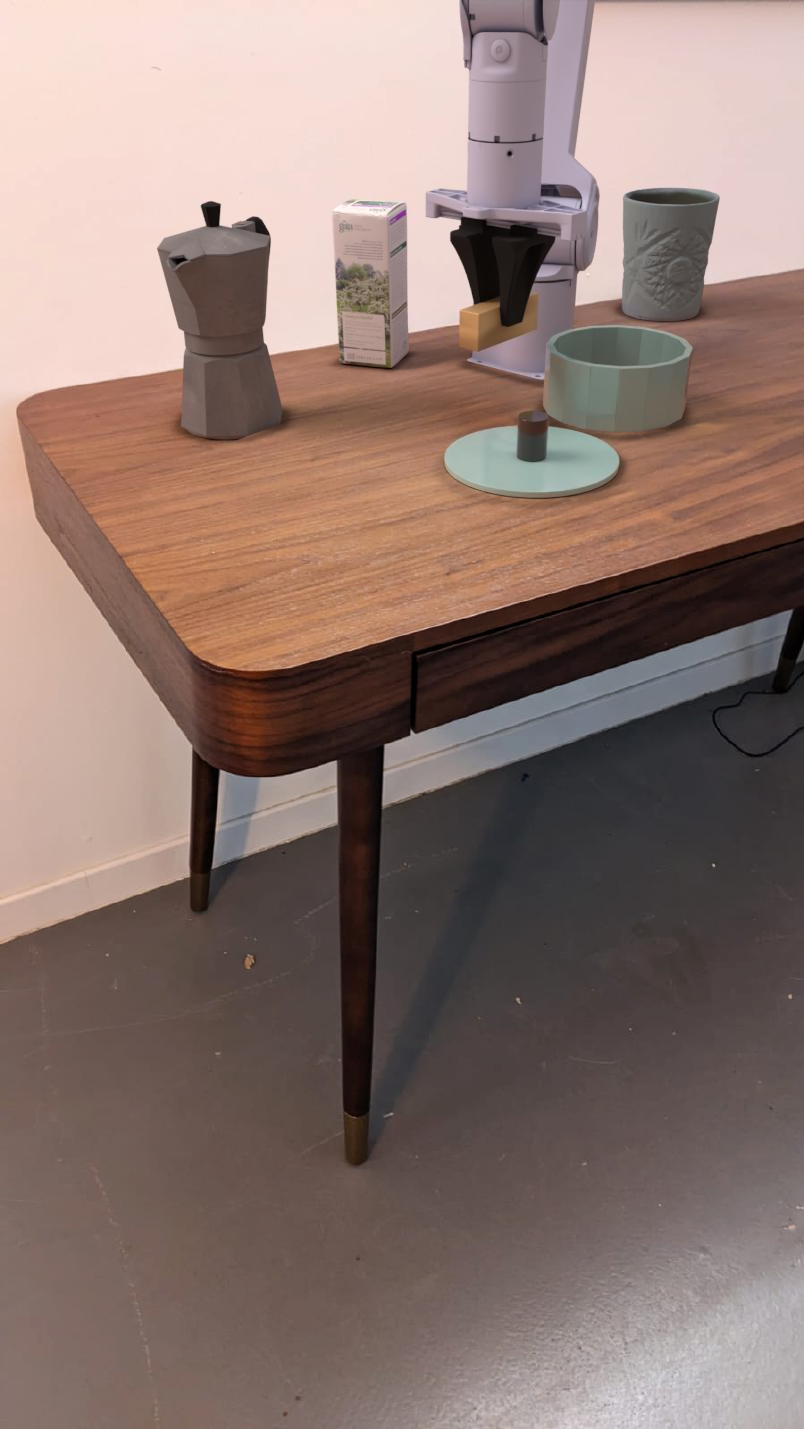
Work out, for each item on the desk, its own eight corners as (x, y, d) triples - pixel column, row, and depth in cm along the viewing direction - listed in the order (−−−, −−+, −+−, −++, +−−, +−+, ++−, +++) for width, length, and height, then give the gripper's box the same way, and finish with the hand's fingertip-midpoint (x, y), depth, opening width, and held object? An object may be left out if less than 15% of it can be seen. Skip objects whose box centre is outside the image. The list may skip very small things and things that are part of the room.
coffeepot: (244, 455, 93) (222, 222, 83) (147, 441, 96) (113, 214, 85) (323, 395, 105) (311, 185, 94) (233, 384, 107) (213, 179, 97)
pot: (516, 416, 99) (519, 348, 96) (593, 381, 107) (598, 317, 103) (634, 449, 93) (642, 377, 89) (708, 409, 100) (718, 342, 97)
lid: (408, 474, 89) (407, 420, 87) (513, 425, 98) (515, 375, 95) (551, 521, 82) (555, 464, 79) (651, 465, 90) (657, 411, 87)
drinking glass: (684, 328, 121) (699, 207, 114) (597, 315, 125) (607, 198, 118) (717, 305, 127) (733, 191, 121) (634, 294, 132) (645, 183, 125)
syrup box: (410, 352, 115) (408, 199, 107) (391, 370, 110) (388, 211, 102) (358, 348, 116) (352, 196, 108) (337, 365, 112) (329, 208, 104)
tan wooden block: (477, 352, 91) (478, 314, 89) (458, 347, 92) (459, 309, 90) (537, 329, 95) (539, 293, 94) (518, 325, 96) (519, 289, 95)
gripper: (399, 135, 87) (401, 316, 94) (552, 154, 78) (541, 349, 86) (457, 125, 91) (455, 298, 99) (608, 141, 83) (593, 328, 91)
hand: (499, 321), depth 93 cm, fingers closed on tan wooden block, 2 cm apart
